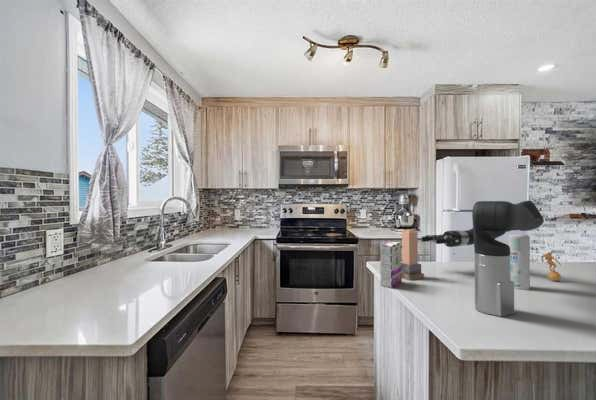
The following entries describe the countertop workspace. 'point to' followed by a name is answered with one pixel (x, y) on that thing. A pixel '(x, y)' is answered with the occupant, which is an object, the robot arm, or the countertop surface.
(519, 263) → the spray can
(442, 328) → the countertop surface
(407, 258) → the terracotta brick
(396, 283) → the candy bar box
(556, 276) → the figurine
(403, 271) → the tower stand
